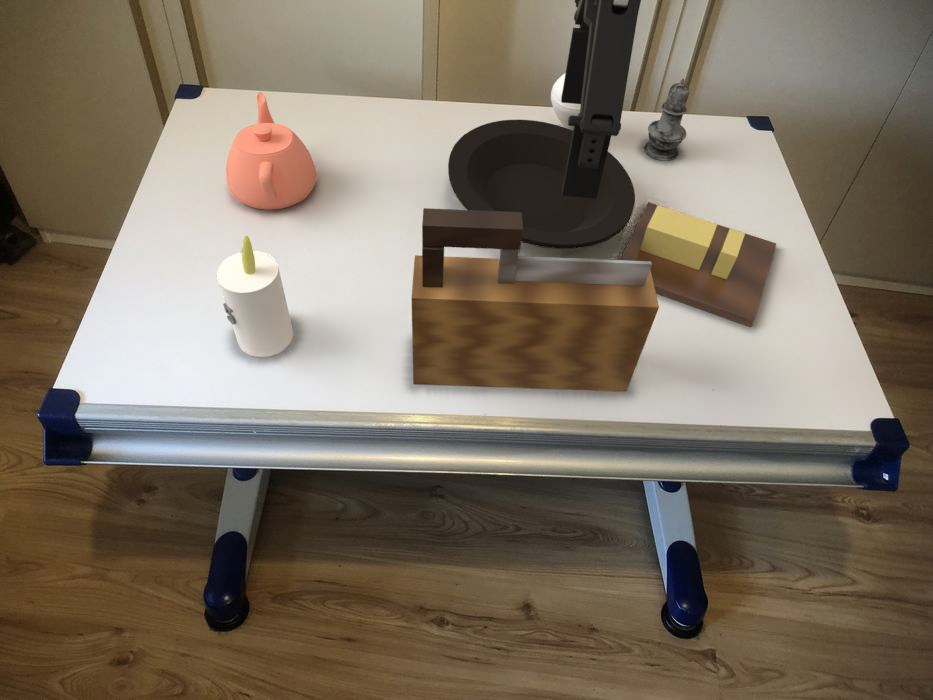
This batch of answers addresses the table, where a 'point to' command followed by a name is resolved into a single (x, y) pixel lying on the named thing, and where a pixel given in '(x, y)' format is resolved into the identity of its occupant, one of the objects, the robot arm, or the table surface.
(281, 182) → the teapot
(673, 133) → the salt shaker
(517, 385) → the wood grain block
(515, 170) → the plate
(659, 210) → the butter block
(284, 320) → the candle
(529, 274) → the brown and grey bar
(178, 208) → the table surface
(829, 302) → the table surface
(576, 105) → the spinning top
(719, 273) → the butter slice
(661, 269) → the board
